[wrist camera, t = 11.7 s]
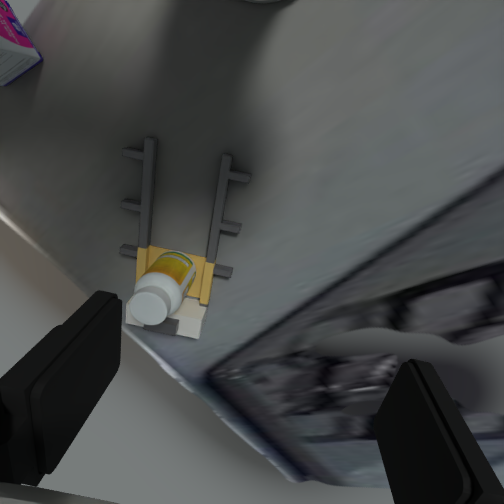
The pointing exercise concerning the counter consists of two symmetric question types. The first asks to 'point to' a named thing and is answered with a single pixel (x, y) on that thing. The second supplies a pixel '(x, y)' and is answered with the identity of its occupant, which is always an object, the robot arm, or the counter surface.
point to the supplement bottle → (162, 287)
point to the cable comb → (190, 311)
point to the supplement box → (14, 47)
